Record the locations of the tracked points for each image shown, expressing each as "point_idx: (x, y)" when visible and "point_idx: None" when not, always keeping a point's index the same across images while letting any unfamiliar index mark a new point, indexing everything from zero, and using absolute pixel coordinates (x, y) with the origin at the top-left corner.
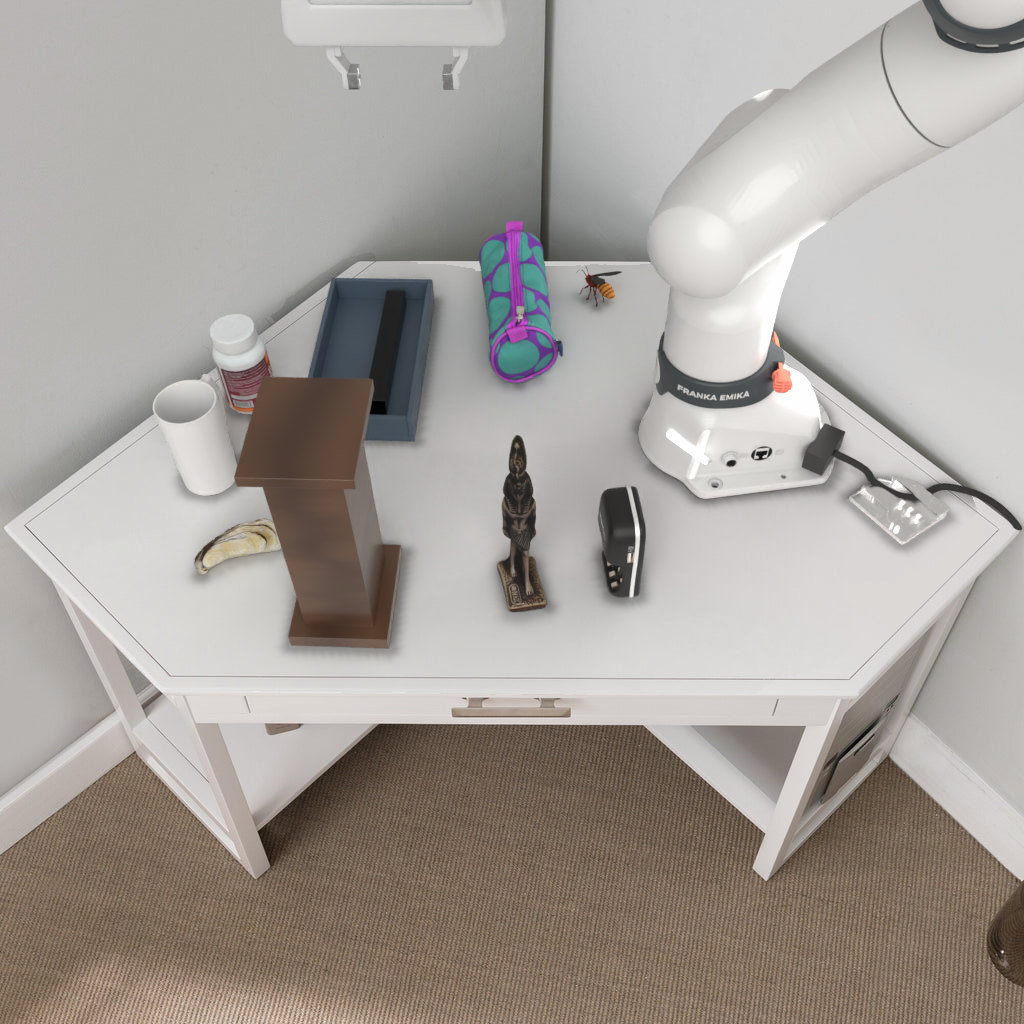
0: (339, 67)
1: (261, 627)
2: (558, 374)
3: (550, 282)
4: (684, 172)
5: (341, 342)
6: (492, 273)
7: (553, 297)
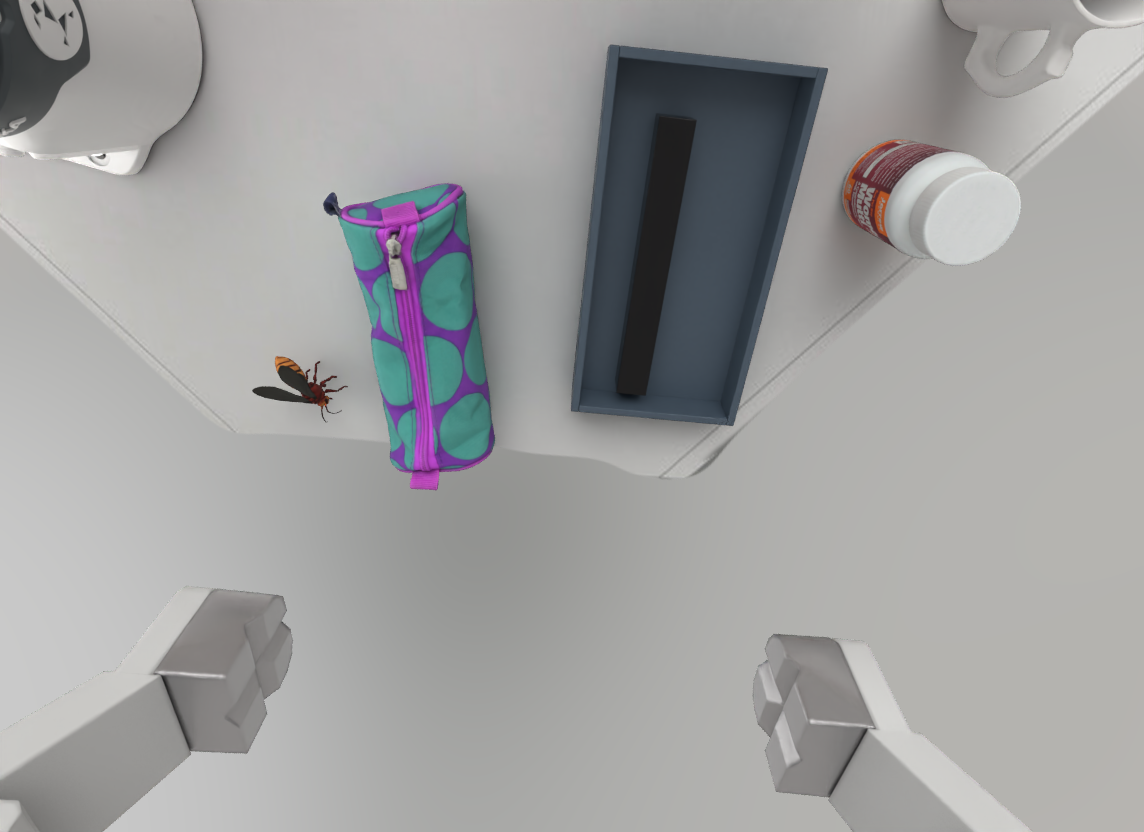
0: (942, 773)
1: None
2: None
3: None
4: None
5: (723, 303)
6: (463, 390)
7: None
